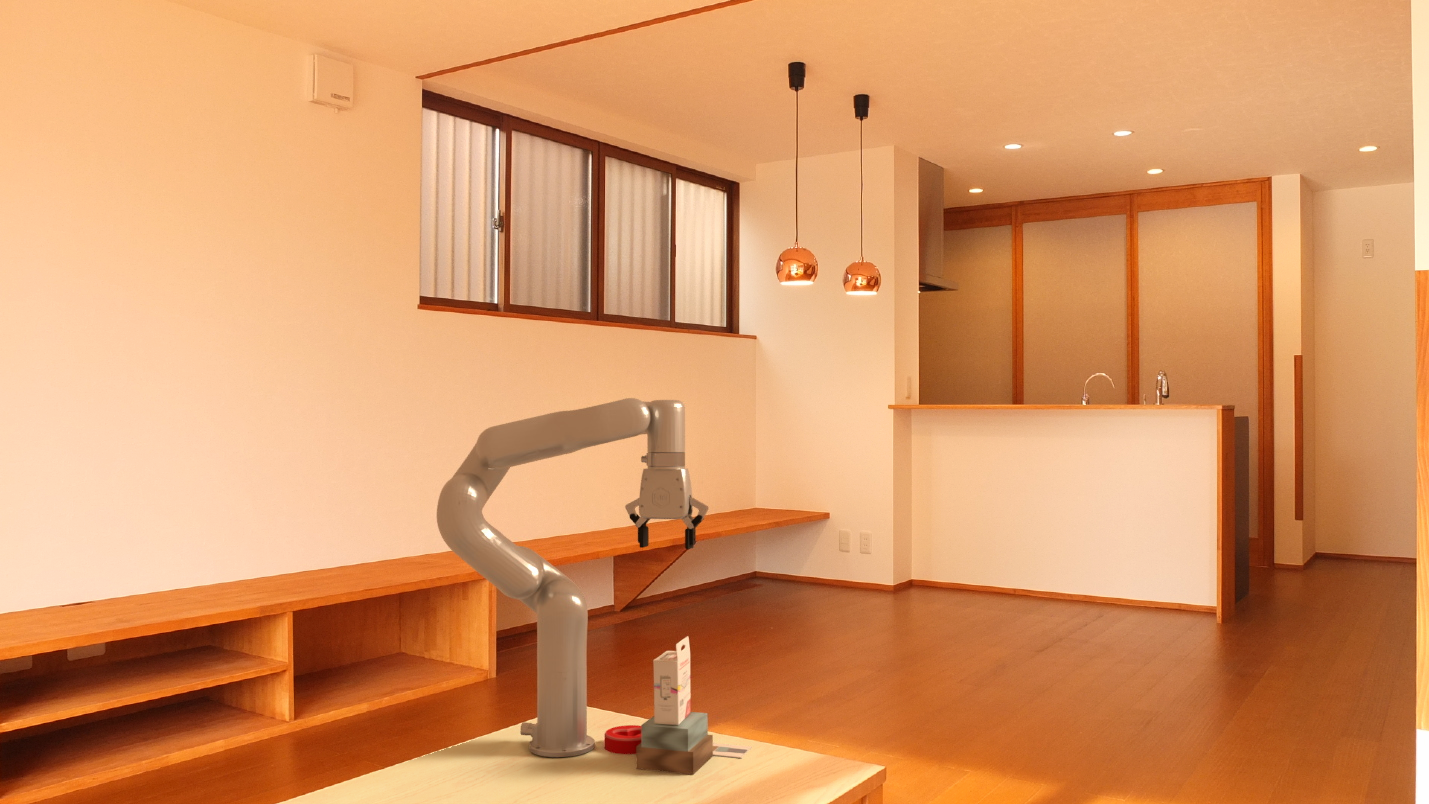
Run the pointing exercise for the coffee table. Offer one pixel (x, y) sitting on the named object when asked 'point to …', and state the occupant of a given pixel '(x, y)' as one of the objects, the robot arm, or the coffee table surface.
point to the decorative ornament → (623, 739)
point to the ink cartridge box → (672, 685)
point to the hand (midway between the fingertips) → (666, 547)
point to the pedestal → (675, 745)
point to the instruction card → (730, 750)
